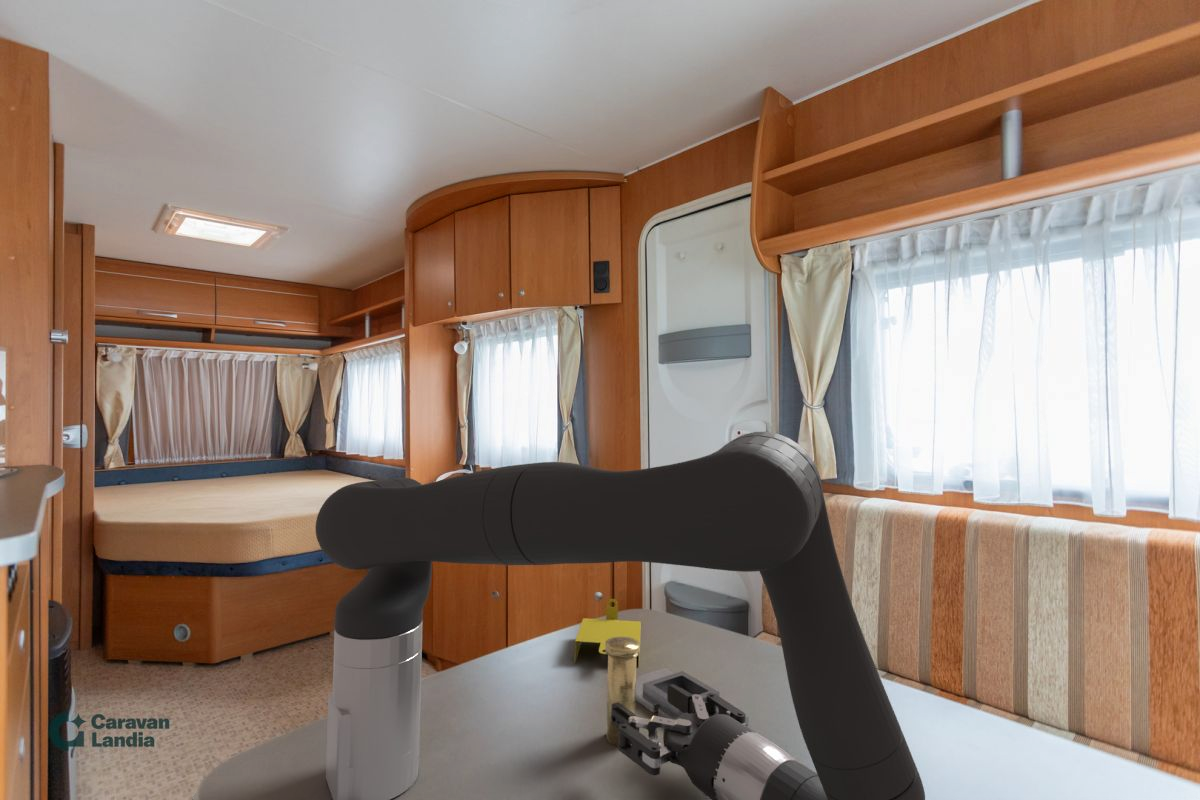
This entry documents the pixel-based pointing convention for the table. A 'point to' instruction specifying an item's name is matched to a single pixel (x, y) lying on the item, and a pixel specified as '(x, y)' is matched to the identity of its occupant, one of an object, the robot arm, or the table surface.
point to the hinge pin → (620, 678)
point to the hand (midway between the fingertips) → (642, 701)
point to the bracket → (606, 629)
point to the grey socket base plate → (656, 688)
